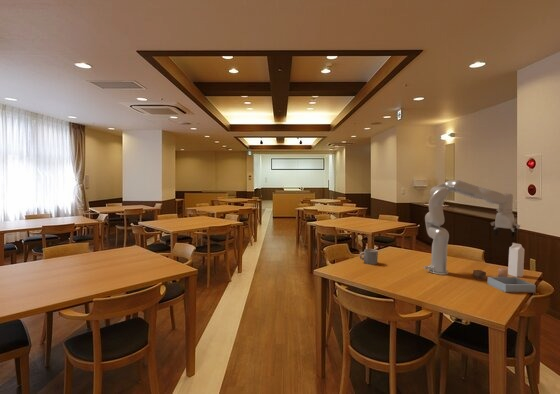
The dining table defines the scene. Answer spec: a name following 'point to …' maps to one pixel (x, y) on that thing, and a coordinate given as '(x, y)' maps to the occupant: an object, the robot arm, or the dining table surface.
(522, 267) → the milk
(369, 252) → the coffee mug
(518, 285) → the tray
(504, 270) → the terracotta cylinder
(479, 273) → the walnut cube
